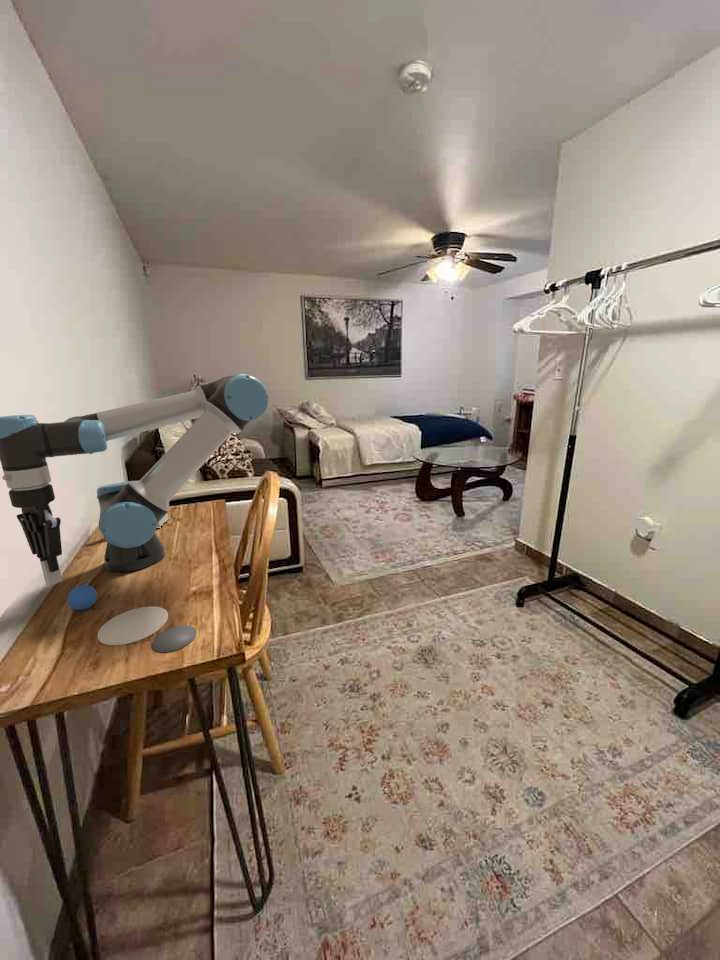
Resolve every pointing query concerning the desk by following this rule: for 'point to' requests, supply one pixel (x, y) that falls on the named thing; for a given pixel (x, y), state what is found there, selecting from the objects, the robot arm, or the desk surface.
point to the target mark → (132, 625)
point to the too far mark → (174, 638)
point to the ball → (82, 597)
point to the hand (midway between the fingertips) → (54, 582)
